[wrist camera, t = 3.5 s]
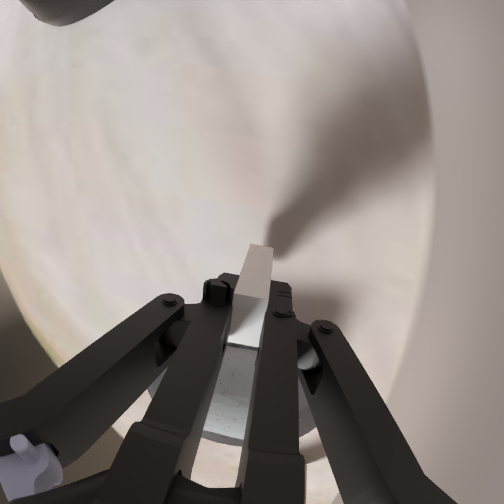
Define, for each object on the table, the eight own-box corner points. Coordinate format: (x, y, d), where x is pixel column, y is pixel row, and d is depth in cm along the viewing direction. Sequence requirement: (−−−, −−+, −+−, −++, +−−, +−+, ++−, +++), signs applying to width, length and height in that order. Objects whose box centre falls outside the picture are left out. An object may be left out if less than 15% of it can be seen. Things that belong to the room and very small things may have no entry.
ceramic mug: (191, 321, 21) (158, 389, 14) (291, 335, 21) (291, 412, 14) (196, 397, 25) (176, 455, 18) (272, 409, 25) (267, 471, 18)
